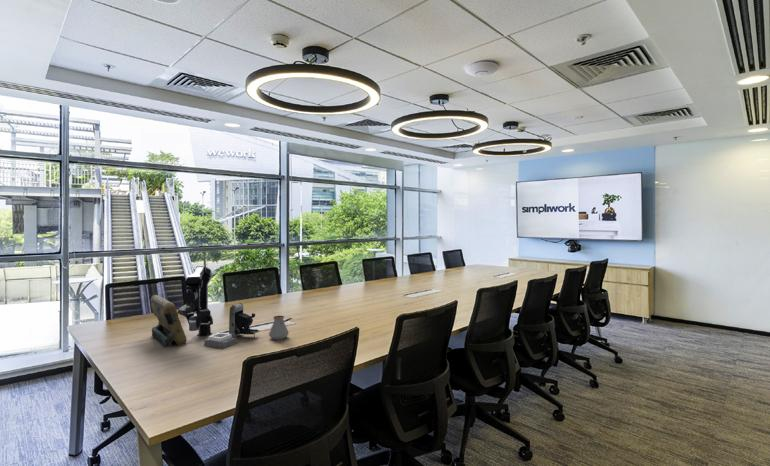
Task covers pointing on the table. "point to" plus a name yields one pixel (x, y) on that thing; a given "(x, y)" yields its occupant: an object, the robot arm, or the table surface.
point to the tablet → (166, 322)
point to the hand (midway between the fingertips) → (194, 327)
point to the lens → (192, 324)
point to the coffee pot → (279, 328)
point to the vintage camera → (240, 321)
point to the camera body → (220, 340)
